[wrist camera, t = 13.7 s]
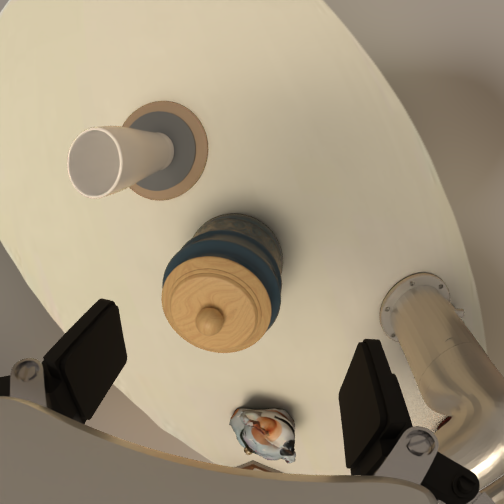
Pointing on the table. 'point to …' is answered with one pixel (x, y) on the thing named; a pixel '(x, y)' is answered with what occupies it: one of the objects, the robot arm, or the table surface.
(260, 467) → the notched white tower
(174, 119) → the round coaster
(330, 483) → the robot arm
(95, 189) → the drinking glass
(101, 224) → the table surface
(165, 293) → the canister
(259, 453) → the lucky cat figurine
